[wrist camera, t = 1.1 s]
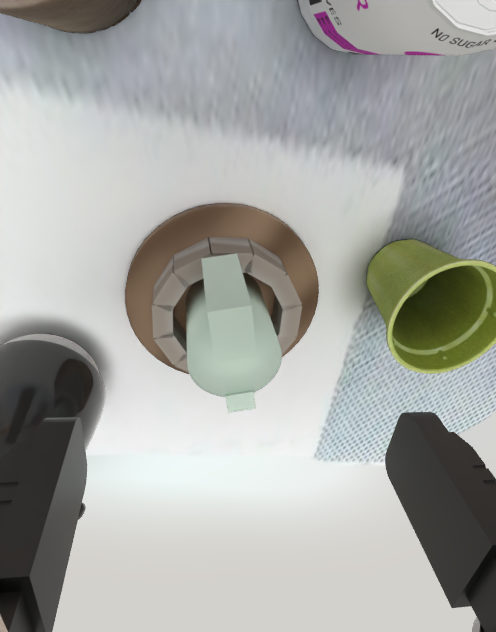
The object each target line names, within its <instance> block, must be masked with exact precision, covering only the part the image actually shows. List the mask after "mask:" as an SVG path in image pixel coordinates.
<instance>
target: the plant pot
mask: <svg viewBox="0 0 496 632" xmlns="http://www.w3.org/2000/svg"><path fill="white" fill-rule="evenodd" d="M367 287H368V289H369V291H370V293H371V295H372V297H373V299H374V301H375V303H376V305H377V307H378V309H379V311H380V313H381V315H382V317H383V319H384V321H385V324H386V329H387V331H386V337H387V344H388V347H389V350H390V352H391V353H392V355H393V357H394V358H395V359H396V360H397V362H399V363H400V364H401V365H402V366H404V367H406V368H407V369H409V370H412V371H415V372H420V373H427V374H433V373H443V372H448V371H451V370H454V369H457V368H459V367H462V366H464V365H466V364H469V363H470V362H472V361H474V360H476V359H477V358H479V357H480V356H481V355H483V354H484V353H485V352H486V351H488V350H489V349H490V348H491V347H492V346H493V345H494V344H495V343H496V266H495V265H493V264H491V263H489V262H485V261H481V260H475V259H459V258H456V257H454V256H452V255H450V254H447V253H445V252H443V251H440V250H438V249H436V248H434V247H432V246H430V245H428V244H425V243H423V242H421V241H418V240H415V239H408V240H401V241H394V242H392V243H390V244H388V245H386V246H385V247H384V248H382V249H381V250H380V251H379V252H378V253H377V254H376V255H375V256H374V258H373V259H372V261H371V262H370V265H369V267H368V274H367Z"/></svg>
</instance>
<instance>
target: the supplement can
mask: <svg viewBox="0 0 496 632" xmlns="http://www.w3.org/2000/svg"><path fill="white" fill-rule="evenodd" d="M298 1H299V6H300V10H301V14H302V16H303V17H304V19H305V21H306V23H307V24H308V26H309V28H310V29H311V31H312V33H313V34H314V36H316V37H317V38H318V39H319V40H321V41H322V42H323V43H324V44H326V45H327V46H328V47H330V48H331V49H333V50H337V51H341V52H345V53H349V54H377V55H449V56H460V55H465V54H471V53H476V52H481V51H487V50H492V49H495V48H496V0H298Z"/></svg>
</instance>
